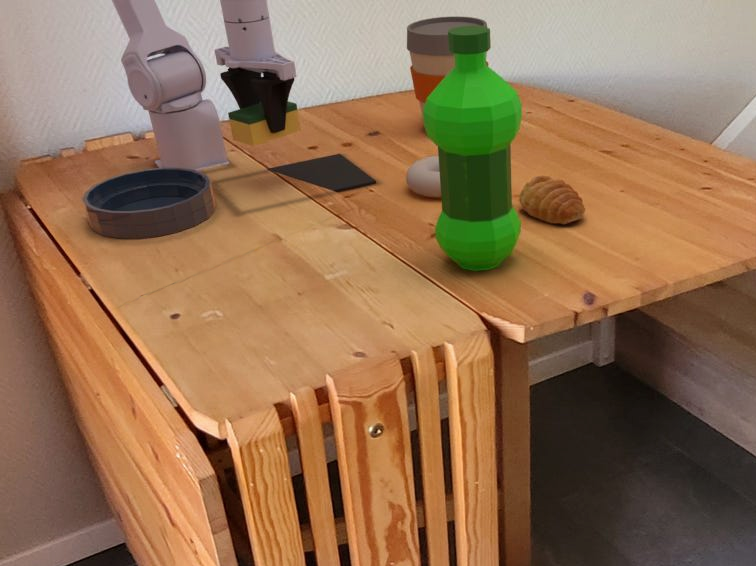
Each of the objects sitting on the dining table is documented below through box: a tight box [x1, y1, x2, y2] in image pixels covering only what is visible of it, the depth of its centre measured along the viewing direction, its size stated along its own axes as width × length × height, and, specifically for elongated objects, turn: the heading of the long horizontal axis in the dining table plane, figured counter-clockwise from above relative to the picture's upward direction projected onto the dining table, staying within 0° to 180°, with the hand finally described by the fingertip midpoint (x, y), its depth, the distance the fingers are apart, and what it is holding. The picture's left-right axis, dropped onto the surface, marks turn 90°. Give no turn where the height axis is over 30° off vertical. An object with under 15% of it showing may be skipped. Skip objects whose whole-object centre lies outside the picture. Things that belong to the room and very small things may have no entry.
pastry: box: [518, 175, 586, 225], centre depth 123 cm, size 9×7×4 cm
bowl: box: [81, 167, 217, 240], centre depth 127 cm, size 16×16×4 cm
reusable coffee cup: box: [406, 15, 489, 132], centre depth 149 cm, size 13×13×15 cm
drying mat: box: [266, 153, 377, 193], centre depth 137 cm, size 20×14×1 cm
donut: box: [405, 155, 441, 199], centre depth 132 cm, size 10×4×10 cm
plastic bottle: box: [423, 26, 523, 272], centre depth 106 cm, size 10×10×25 cm
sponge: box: [227, 101, 301, 147], centre depth 130 cm, size 8×5×4 cm, turn 138°
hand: (265, 127), depth 131 cm, fingers closed on sponge, 4 cm apart
